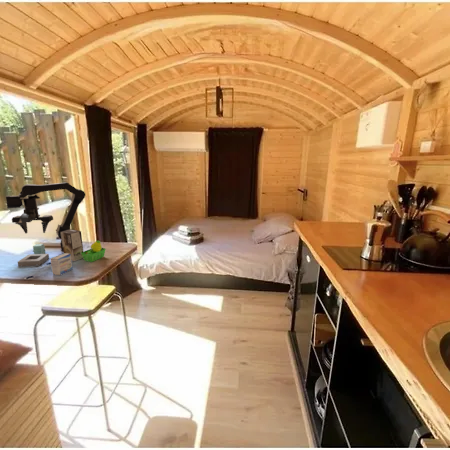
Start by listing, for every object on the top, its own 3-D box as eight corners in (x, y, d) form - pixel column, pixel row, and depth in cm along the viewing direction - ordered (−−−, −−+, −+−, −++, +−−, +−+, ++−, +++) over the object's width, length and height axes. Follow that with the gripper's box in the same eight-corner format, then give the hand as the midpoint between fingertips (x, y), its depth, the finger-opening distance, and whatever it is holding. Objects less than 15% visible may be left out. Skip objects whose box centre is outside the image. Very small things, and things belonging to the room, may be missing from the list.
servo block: (46, 251, 154) (45, 243, 153) (40, 255, 147) (39, 246, 146) (38, 252, 153) (37, 243, 152) (33, 256, 146) (31, 247, 145)
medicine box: (60, 275, 123) (57, 259, 121) (52, 274, 124) (50, 258, 122) (72, 269, 131) (70, 253, 129) (65, 268, 132) (63, 252, 129)
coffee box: (84, 257, 146) (81, 231, 142) (74, 261, 141) (70, 233, 137) (74, 254, 150) (71, 228, 146) (63, 258, 144) (60, 231, 140)
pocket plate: (49, 257, 145) (48, 253, 144) (39, 265, 134) (39, 260, 134) (29, 258, 143) (28, 254, 142) (18, 266, 132) (17, 261, 132)
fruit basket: (97, 254, 152) (95, 236, 149) (108, 256, 149) (107, 238, 146) (81, 261, 141) (78, 242, 138) (93, 263, 138) (91, 244, 135)
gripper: (2, 209, 133) (8, 237, 137) (42, 209, 137) (46, 236, 141) (15, 206, 144) (20, 232, 148) (51, 205, 147) (55, 231, 151)
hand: (35, 233), depth 147 cm, fingers open, 9 cm apart
